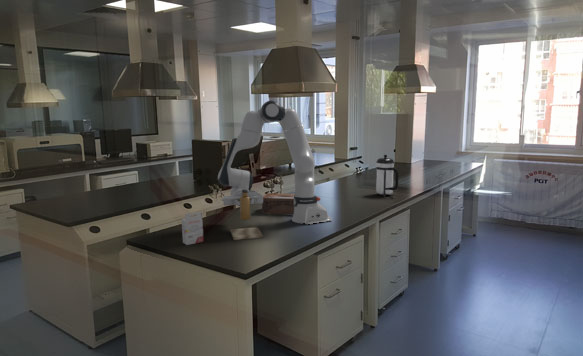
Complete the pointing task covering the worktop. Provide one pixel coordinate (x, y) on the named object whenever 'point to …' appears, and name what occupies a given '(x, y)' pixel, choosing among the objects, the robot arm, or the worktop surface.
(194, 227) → the ink cartridge box
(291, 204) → the tissue box cover
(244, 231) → the birch board
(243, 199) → the reagent bottle
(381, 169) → the coffee press
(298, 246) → the worktop surface
